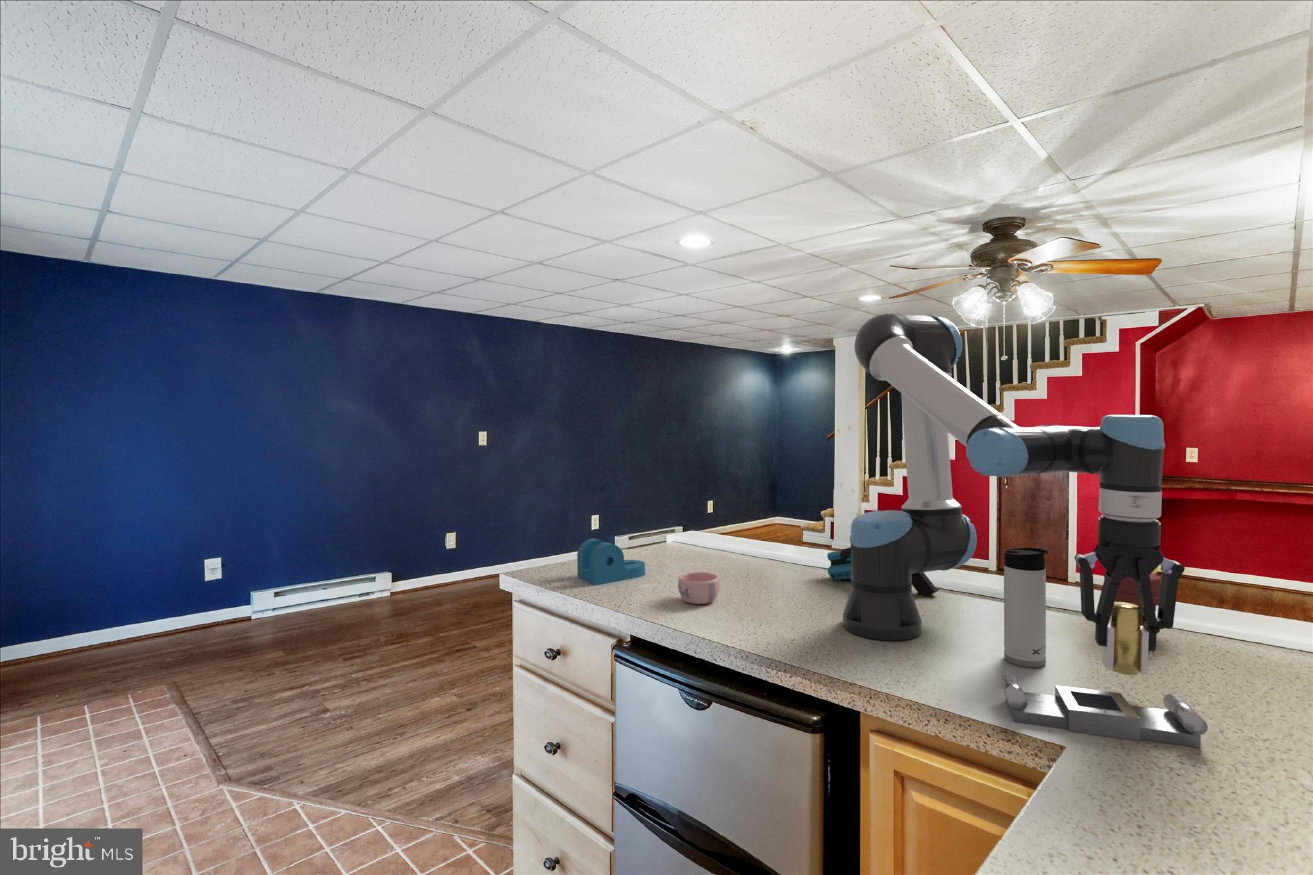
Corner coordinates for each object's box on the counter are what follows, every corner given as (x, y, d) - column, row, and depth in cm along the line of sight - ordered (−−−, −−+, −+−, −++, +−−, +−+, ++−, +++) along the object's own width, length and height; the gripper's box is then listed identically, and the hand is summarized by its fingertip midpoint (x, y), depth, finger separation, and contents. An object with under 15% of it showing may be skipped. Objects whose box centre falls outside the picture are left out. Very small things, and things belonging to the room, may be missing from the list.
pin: (1113, 672, 93) (1115, 608, 93) (1106, 663, 97) (1108, 600, 96) (1142, 676, 92) (1144, 611, 91) (1134, 666, 95) (1136, 603, 95)
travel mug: (1048, 671, 103) (1048, 553, 102) (1003, 663, 107) (1002, 549, 106) (1048, 658, 108) (1047, 545, 108) (1005, 651, 112) (1004, 542, 111)
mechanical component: (1147, 624, 125) (1178, 641, 115) (1091, 621, 127) (1117, 639, 117) (1147, 563, 124) (1178, 576, 114) (1091, 562, 126) (1117, 574, 116)
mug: (728, 601, 146) (728, 576, 146) (698, 610, 140) (698, 584, 140) (693, 591, 156) (693, 568, 155) (664, 599, 149) (663, 575, 149)
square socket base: (1008, 722, 87) (1008, 694, 86) (1000, 697, 94) (999, 672, 94) (1209, 750, 78) (1209, 720, 78) (1182, 721, 86) (1182, 693, 86)
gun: (849, 598, 167) (834, 543, 170) (944, 590, 149) (927, 528, 151) (833, 605, 162) (819, 548, 164) (930, 597, 143) (913, 533, 146)
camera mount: (595, 586, 163) (594, 546, 162) (577, 578, 172) (576, 540, 171) (652, 575, 173) (651, 538, 172) (633, 568, 181) (632, 532, 181)
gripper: (1070, 518, 93) (1066, 670, 94) (1210, 525, 86) (1203, 687, 88) (1058, 509, 100) (1055, 651, 101) (1187, 515, 93) (1181, 666, 95)
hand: (1124, 668), depth 94 cm, fingers closed on pin, 3 cm apart
